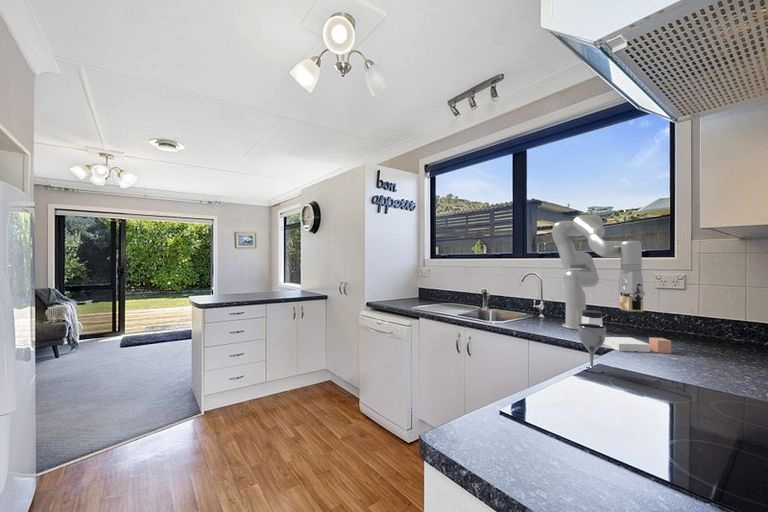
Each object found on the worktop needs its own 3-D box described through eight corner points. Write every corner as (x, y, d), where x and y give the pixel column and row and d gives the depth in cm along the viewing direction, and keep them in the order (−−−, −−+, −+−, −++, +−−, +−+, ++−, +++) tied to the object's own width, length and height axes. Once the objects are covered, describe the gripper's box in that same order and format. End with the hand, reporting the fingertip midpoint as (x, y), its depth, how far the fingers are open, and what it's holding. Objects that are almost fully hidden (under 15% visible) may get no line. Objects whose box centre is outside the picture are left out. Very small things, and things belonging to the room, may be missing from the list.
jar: (599, 338, 156) (599, 313, 156) (579, 335, 162) (579, 311, 162) (604, 335, 162) (604, 311, 162) (585, 333, 168) (585, 309, 168)
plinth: (602, 343, 147) (602, 336, 147) (631, 344, 146) (631, 337, 146) (618, 351, 135) (618, 343, 135) (650, 352, 134) (650, 344, 134)
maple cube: (620, 309, 150) (619, 296, 150) (633, 309, 150) (633, 296, 150) (628, 311, 144) (628, 297, 145) (643, 311, 144) (643, 297, 144)
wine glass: (580, 372, 110) (581, 327, 110) (576, 365, 117) (576, 322, 117) (608, 375, 107) (609, 329, 107) (602, 367, 114) (602, 324, 114)
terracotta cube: (649, 349, 138) (649, 337, 138) (662, 349, 138) (662, 337, 138) (657, 352, 133) (657, 340, 133) (671, 353, 133) (671, 340, 133)
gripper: (610, 267, 156) (610, 306, 156) (635, 268, 139) (635, 311, 139) (627, 268, 156) (627, 306, 156) (654, 268, 139) (654, 311, 138)
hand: (631, 308), depth 147 cm, fingers closed on maple cube, 6 cm apart
